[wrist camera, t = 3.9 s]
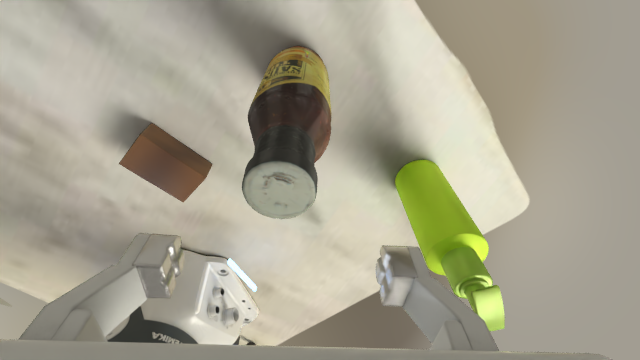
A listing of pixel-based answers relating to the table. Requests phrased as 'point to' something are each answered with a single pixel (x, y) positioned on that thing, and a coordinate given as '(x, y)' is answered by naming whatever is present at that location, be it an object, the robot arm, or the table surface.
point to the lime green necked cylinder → (449, 238)
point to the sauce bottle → (288, 134)
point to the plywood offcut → (166, 163)
